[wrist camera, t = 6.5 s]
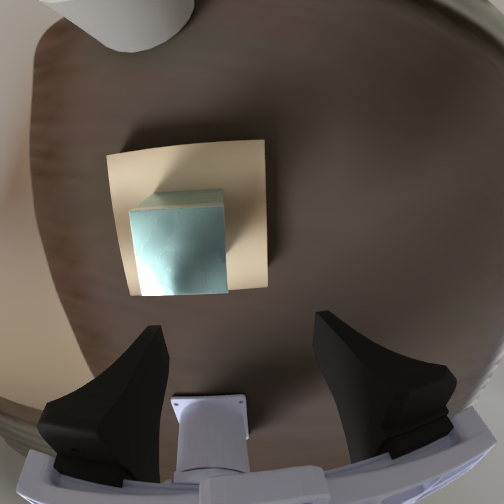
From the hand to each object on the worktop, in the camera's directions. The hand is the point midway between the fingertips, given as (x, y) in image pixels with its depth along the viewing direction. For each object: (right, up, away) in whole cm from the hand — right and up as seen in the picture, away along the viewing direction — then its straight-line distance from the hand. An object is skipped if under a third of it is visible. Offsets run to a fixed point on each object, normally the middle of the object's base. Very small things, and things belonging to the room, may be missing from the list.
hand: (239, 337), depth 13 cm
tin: (-3, +6, +5) cm, 8 cm away
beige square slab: (-4, +7, +8) cm, 11 cm away
